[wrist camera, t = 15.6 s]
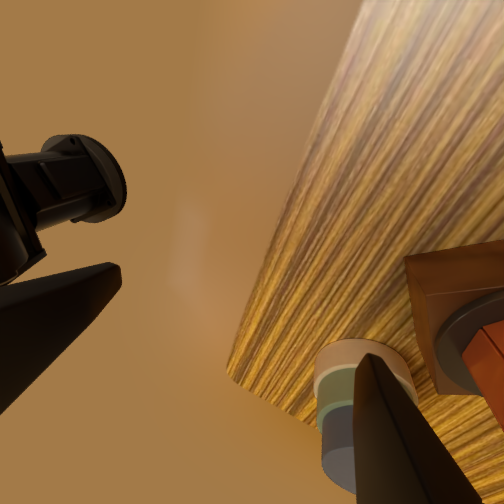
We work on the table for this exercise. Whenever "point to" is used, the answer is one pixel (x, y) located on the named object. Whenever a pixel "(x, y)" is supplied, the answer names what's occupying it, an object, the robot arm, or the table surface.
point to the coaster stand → (454, 307)
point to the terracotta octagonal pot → (488, 366)
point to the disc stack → (347, 401)
